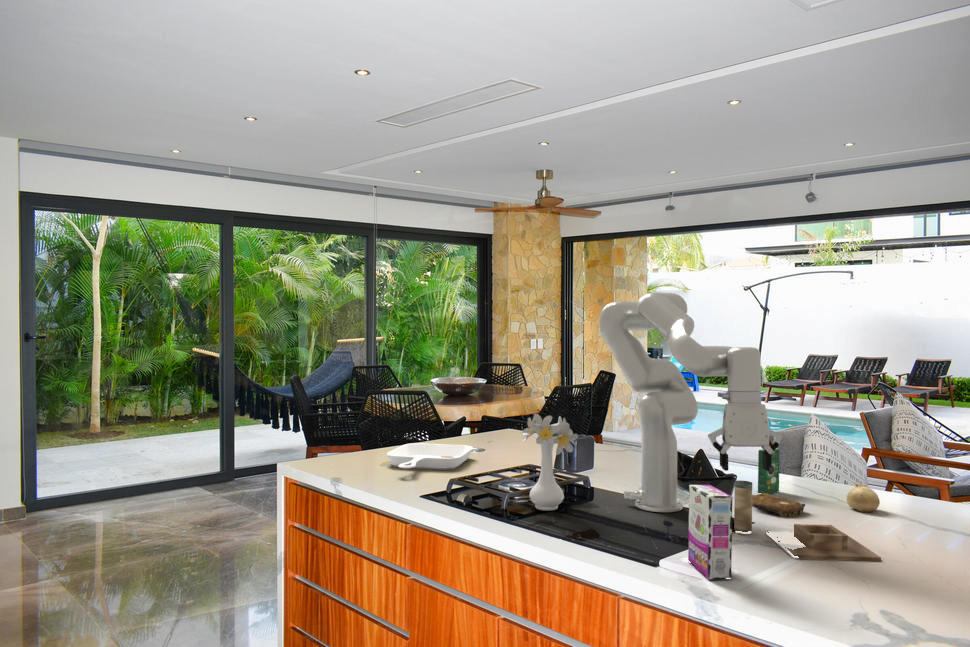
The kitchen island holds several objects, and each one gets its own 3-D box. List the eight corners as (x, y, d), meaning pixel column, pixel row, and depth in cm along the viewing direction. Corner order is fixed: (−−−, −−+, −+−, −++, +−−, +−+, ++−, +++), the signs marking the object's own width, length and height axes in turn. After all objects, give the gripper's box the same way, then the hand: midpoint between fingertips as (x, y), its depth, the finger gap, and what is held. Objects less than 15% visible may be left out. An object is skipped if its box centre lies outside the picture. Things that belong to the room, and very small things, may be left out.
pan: (476, 458, 263) (476, 445, 263) (444, 482, 222) (444, 467, 222) (407, 454, 269) (408, 442, 269) (364, 477, 228) (364, 463, 228)
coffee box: (770, 489, 213) (771, 446, 213) (780, 491, 211) (780, 448, 211) (756, 493, 208) (757, 449, 208) (766, 495, 206) (766, 451, 206)
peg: (736, 534, 167) (737, 484, 167) (731, 529, 171) (732, 480, 171) (754, 534, 167) (754, 484, 167) (749, 529, 171) (749, 480, 171)
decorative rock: (736, 510, 192) (790, 524, 180) (736, 495, 192) (790, 508, 180) (757, 501, 199) (810, 514, 188) (757, 487, 199) (810, 498, 188)
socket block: (793, 558, 150) (794, 540, 150) (765, 533, 168) (765, 517, 168) (881, 561, 149) (881, 543, 149) (843, 535, 167) (843, 519, 167)
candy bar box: (733, 580, 137) (733, 496, 137) (708, 581, 136) (709, 496, 136) (710, 561, 148) (710, 483, 148) (687, 561, 147) (687, 483, 147)
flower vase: (554, 519, 179) (555, 421, 179) (509, 504, 193) (509, 414, 193) (590, 511, 186) (591, 417, 186) (544, 498, 201) (545, 410, 201)
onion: (883, 510, 191) (883, 484, 191) (875, 516, 185) (875, 489, 185) (851, 505, 196) (851, 479, 196) (842, 510, 190) (842, 484, 190)
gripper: (711, 399, 166) (712, 472, 165) (786, 399, 165) (788, 472, 164) (704, 397, 173) (705, 466, 173) (775, 397, 172) (776, 467, 172)
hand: (745, 469), depth 169 cm, fingers open, 9 cm apart
